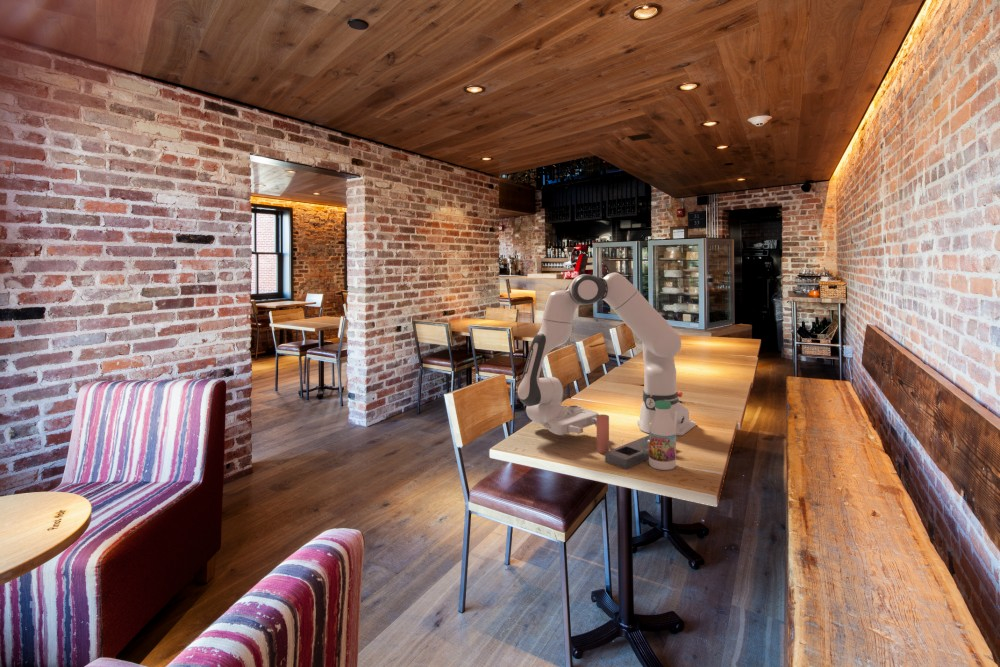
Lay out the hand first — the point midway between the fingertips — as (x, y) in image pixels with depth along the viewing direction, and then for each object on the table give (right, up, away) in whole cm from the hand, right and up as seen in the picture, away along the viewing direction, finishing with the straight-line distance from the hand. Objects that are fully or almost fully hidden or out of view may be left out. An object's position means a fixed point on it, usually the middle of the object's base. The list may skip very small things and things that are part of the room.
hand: (591, 427), depth 165 cm
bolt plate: (+15, -7, -7) cm, 18 cm away
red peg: (+3, -7, -3) cm, 9 cm away
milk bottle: (+19, -9, -16) cm, 26 cm away
